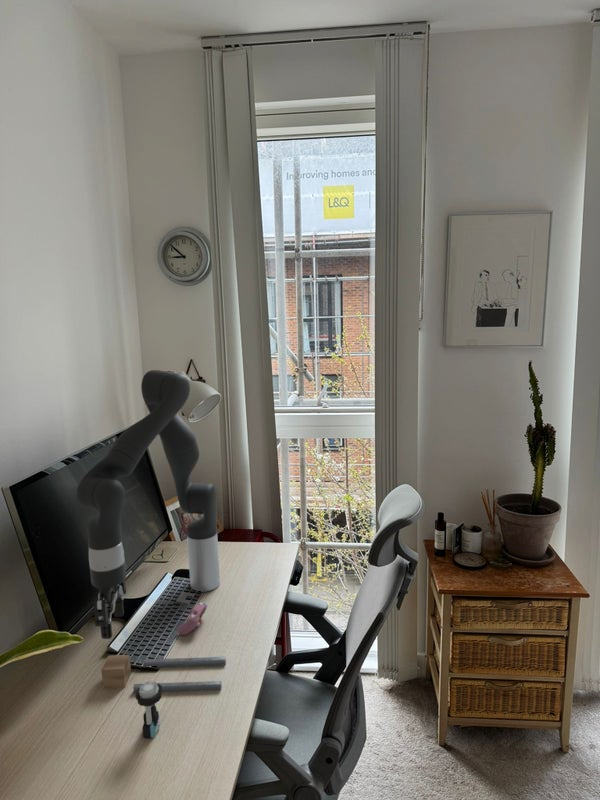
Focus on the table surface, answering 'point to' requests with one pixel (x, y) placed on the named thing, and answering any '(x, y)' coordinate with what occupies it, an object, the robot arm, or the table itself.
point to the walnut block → (116, 671)
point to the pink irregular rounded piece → (193, 619)
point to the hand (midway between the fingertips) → (113, 626)
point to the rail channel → (186, 662)
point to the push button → (149, 706)
